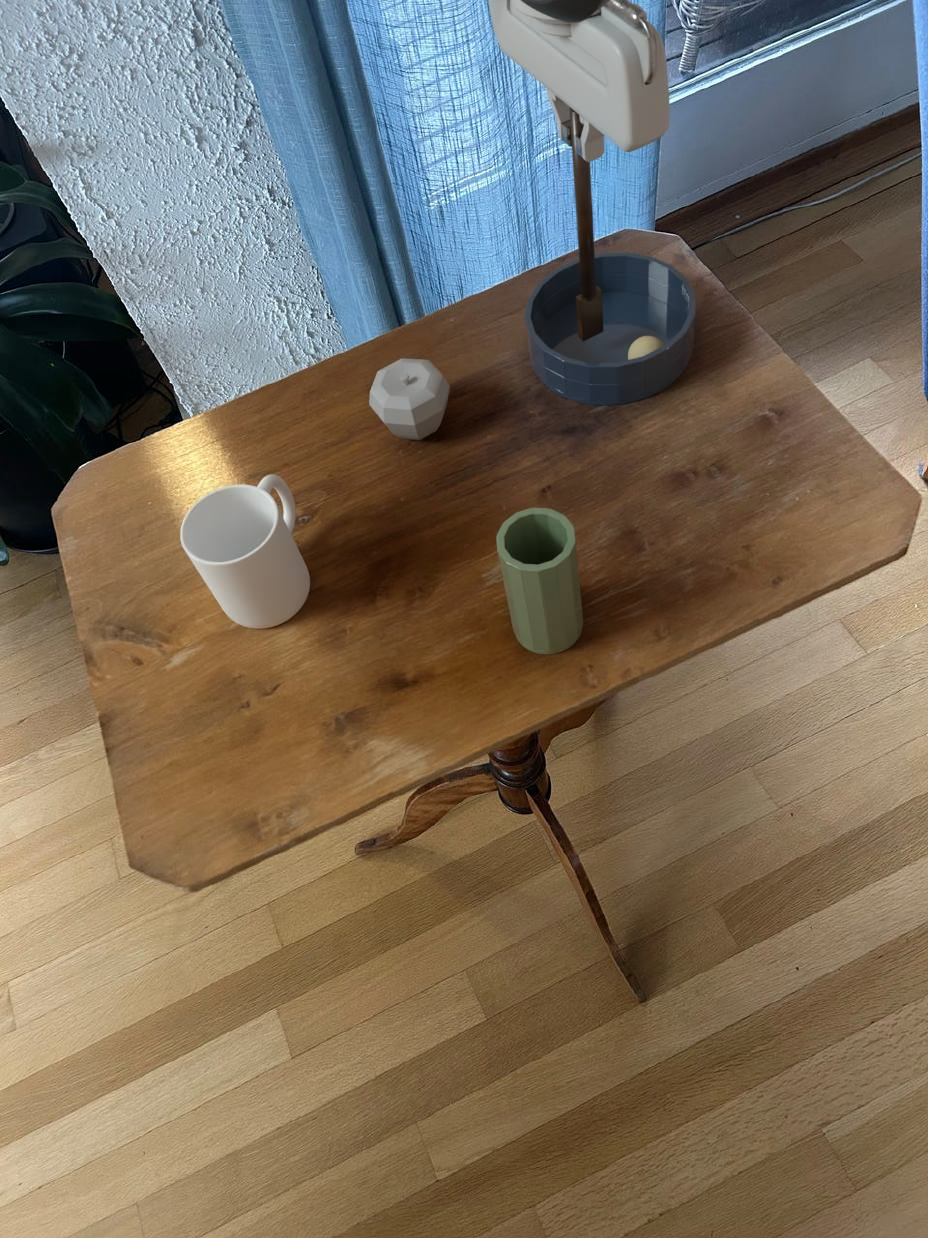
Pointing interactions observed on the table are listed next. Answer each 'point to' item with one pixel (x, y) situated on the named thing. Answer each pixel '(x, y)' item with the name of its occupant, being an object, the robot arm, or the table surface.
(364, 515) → the table surface
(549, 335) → the bowl
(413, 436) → the grey apple
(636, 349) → the dough ball
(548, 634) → the crock
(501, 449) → the table surface
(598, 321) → the dark wooden dowel
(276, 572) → the cup
